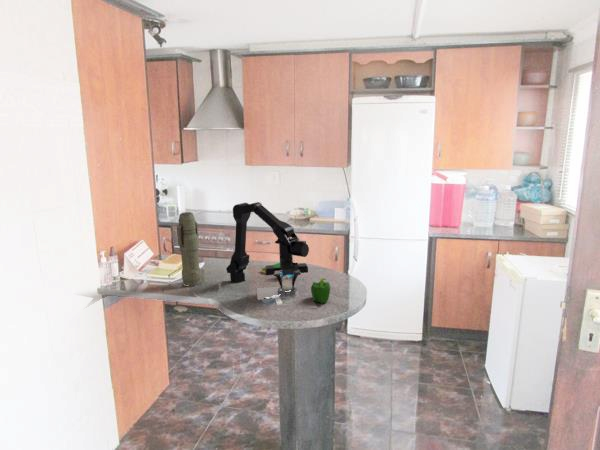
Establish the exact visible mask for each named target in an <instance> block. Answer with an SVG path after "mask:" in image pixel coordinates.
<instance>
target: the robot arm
mask: <svg viewBox="0 0 600 450" xmlns="http://www.w3.org/2000/svg"><path fill="white" fill-rule="evenodd" d="M252 213H254V214H255V215H257V217H259V219H261V220H262V221H263V222H264V223H266V225H268V226H269V227H270V228H271V229H272V231H273V234H274V235H275V236H276V238H277V240H276V241H275V242H274V243H275V244H278V249H279V252H278V253H279V263H280V267H275V268H274V265H275V264H272V265H266V266H265V267H264V268H265V273H264V274H265V276H273V277H276V279H277V281H278V283H279V287H281V288H282V279H281V278H282V277H281V274H280V273H281V272H280V271H282V274H283V275H293V276H292V287H294V286H295V285H296V280H297V278H298V276H299V275H301V274H305V273H309V265H308V264H307V263H306V262H302V263H300V262H299V263H298V262H294V261H293V256H295V257H301V258H306V257H307V256H308V254H309V252H310V247H309V245H308V243H307V241H306V240H300V238H299V236H298V235H297V233H296V232H295V229H294V226H292V225H291V224H289V223H288V222H286V221H283V220H281V219H278V218H277V216H275V215H274V214H273V213H272V212H270V211H269V210H268V208H267V207H265V206H264V205H263V204H262V202H258V201H256V202H254V203H248V202H243V203H237V204H235V205H234V206H233V208H232V217H233V219H234V221H235V237H234V239H235V240H234V252H233V253H232V255H231V258H230V264H229V265H228V266H227V267H226V272H227V273H229V275H230V277H229V279H230V283H233V284H240V283H244V282H246V273H245V272H244V271H245V270H247V266H249V263H250V254H248V253H247V251H246V243H247V228H248V227H247V225H248V221H249V220H250V217H251V214H252Z"/></svg>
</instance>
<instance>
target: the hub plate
mask: <svg viewBox="0 0 600 450" xmlns="http://www.w3.org/2000/svg"><path fill="white" fill-rule="evenodd" d="M256 294H257V295H256V297H257V301H259V300H260V301H261V300H262V301H263V300H264V299H263V298H265V297H271V296H273V295H279V294H281V295H280V296H279V297H277V298H272V299H287V298H288V299H289V298H298V297H300V294H299V292H298V288H297V286H296V284H294V287H293V289H292V290H291V291H290V292H285V290H282V288H281V286H269V287H257V288H256ZM272 299H271V300H272Z"/></svg>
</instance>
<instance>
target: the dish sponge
mask: <svg viewBox="0 0 600 450" xmlns="http://www.w3.org/2000/svg"><path fill="white" fill-rule="evenodd" d="M273 265H274V268H275V267H279V266H280V262H279V263H275V264H273ZM261 273H263V274H266V273H265V267H262V268H261Z"/></svg>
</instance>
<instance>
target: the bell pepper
mask: <svg viewBox="0 0 600 450" xmlns="http://www.w3.org/2000/svg"><path fill="white" fill-rule="evenodd" d="M326 279H327V278H326V277H322V278H321V279H320V281H318V282H316V281H315V282H312V284H311V287H310V291H311V295H312V299H313V300H314V302H315V303H319V304H325V303H327V302H328V300H329V299H330V294H331V285H330V282H326V281H325V280H326Z"/></svg>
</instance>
